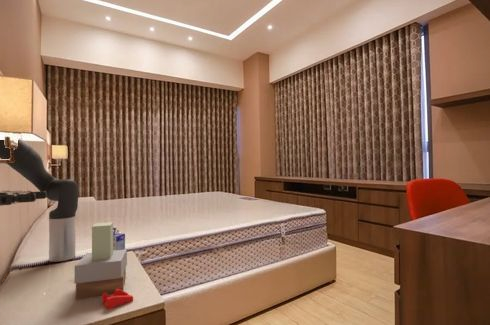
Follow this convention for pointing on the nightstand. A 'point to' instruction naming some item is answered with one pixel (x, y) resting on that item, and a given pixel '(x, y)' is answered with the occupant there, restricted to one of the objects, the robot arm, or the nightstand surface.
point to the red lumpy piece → (116, 299)
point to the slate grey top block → (101, 267)
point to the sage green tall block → (102, 240)
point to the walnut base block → (99, 287)
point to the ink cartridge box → (118, 241)
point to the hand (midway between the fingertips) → (41, 196)
